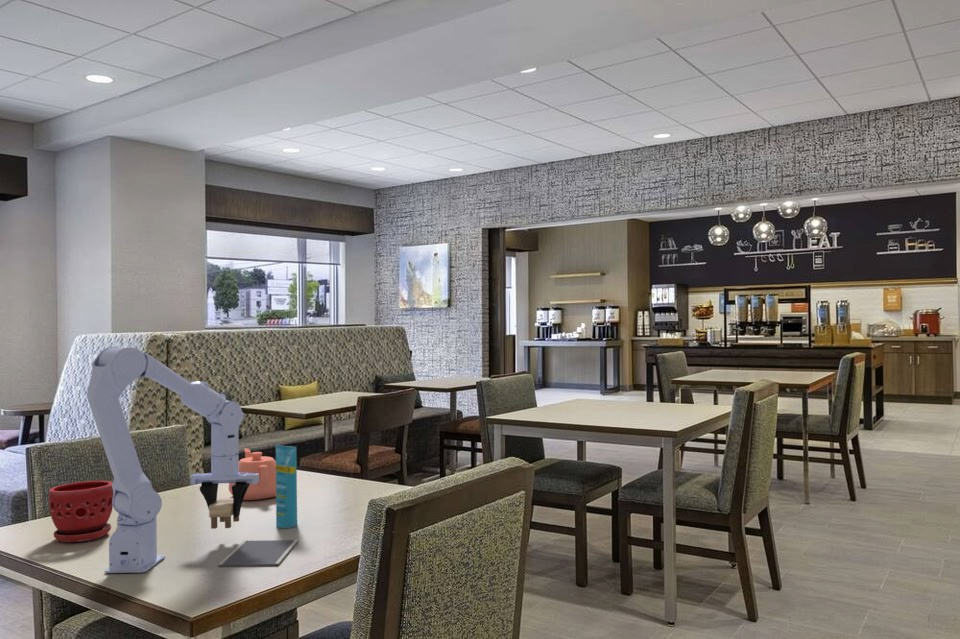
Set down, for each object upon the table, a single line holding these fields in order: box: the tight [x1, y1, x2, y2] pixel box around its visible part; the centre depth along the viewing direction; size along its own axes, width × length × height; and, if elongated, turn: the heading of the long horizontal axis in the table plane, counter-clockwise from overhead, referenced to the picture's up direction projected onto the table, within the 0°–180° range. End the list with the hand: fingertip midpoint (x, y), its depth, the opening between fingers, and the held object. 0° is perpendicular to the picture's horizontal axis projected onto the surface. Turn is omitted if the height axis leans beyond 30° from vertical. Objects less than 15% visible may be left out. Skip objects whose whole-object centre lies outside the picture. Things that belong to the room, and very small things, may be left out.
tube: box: [275, 444, 298, 529], centre depth 175 cm, size 7×5×19 cm, turn 60°
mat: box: [217, 539, 299, 568], centre depth 154 cm, size 16×12×1 cm
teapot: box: [228, 447, 276, 501], centre depth 207 cm, size 22×15×12 cm
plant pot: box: [48, 480, 114, 543], centre depth 168 cm, size 13×13×12 cm
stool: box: [208, 497, 240, 529], centre depth 162 cm, size 7×4×5 cm, turn 0°
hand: (225, 516), depth 162 cm, fingers closed on stool, 4 cm apart
